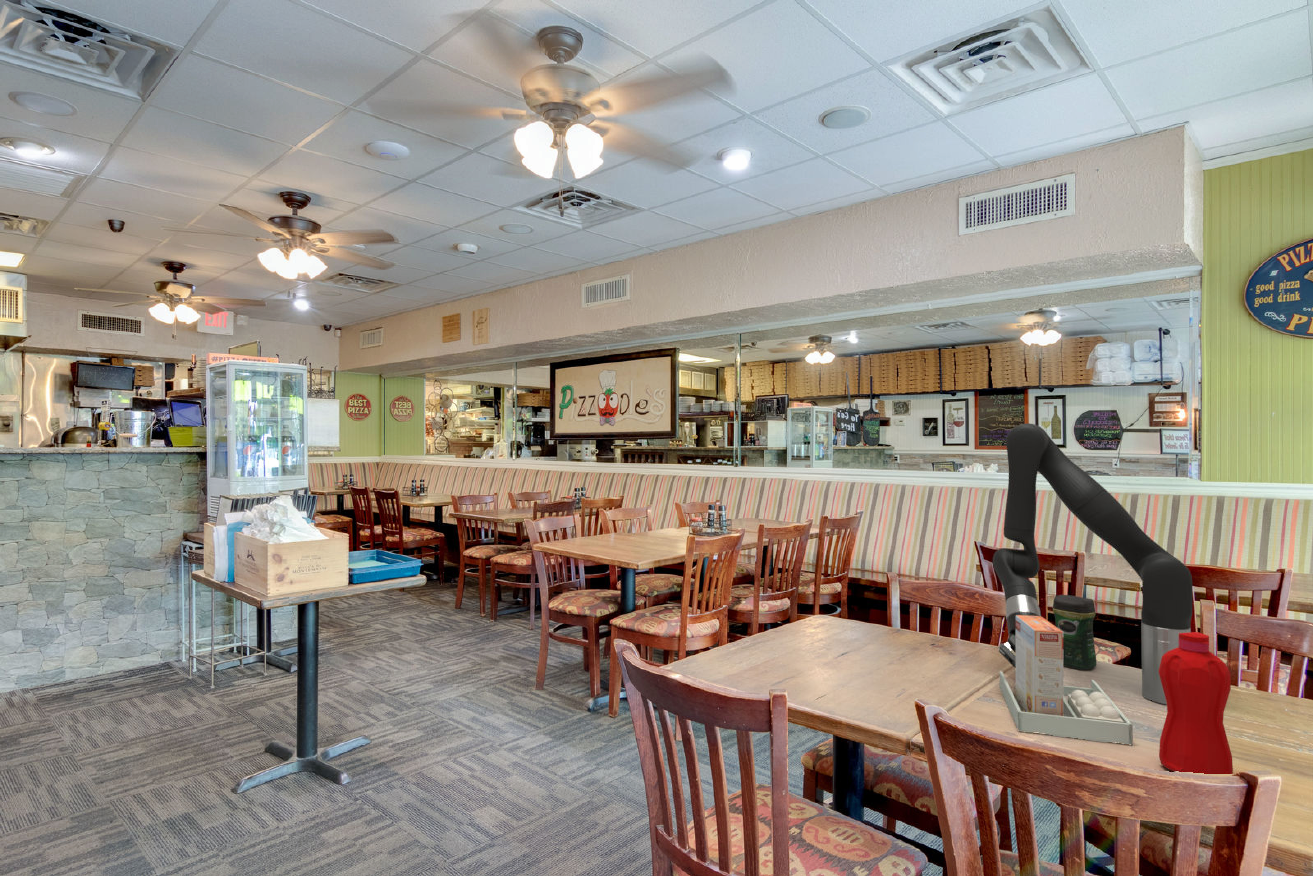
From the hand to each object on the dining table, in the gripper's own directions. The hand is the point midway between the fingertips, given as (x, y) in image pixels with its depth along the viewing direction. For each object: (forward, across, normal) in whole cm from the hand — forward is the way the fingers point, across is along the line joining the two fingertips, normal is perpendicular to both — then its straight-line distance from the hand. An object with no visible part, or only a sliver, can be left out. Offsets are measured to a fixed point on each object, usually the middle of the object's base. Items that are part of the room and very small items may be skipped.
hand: (1033, 686), depth 155 cm
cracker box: (+9, 0, -2) cm, 9 cm away
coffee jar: (-23, +16, +30) cm, 42 cm away
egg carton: (+9, +10, -2) cm, 14 cm away
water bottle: (+21, +21, -14) cm, 33 cm away
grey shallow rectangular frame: (+5, +5, +2) cm, 7 cm away
